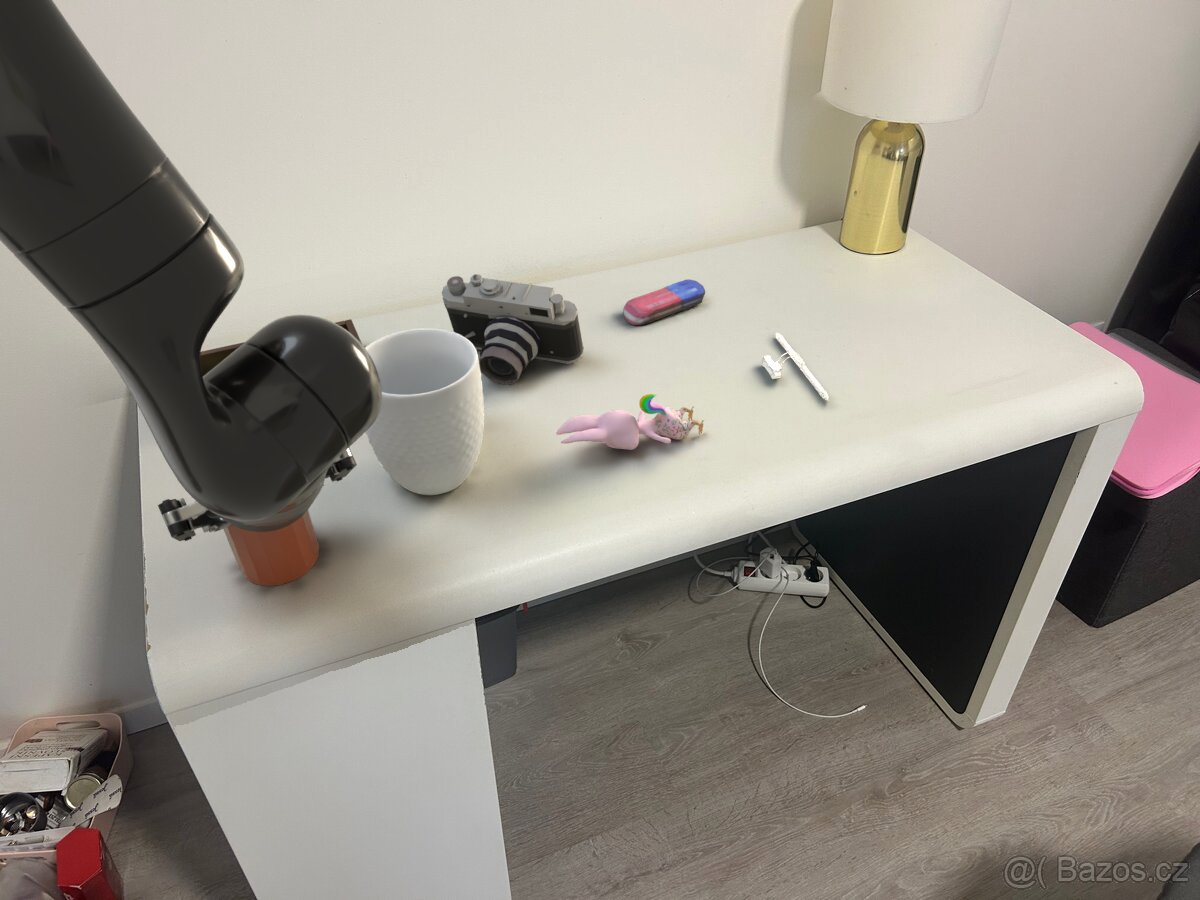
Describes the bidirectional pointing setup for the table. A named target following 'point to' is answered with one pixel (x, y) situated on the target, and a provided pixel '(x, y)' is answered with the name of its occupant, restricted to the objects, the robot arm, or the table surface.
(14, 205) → the robot arm
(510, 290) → the camera
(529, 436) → the table surface
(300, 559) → the cup
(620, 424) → the rabbit figure
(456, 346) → the mug
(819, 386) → the picture light
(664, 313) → the eraser
